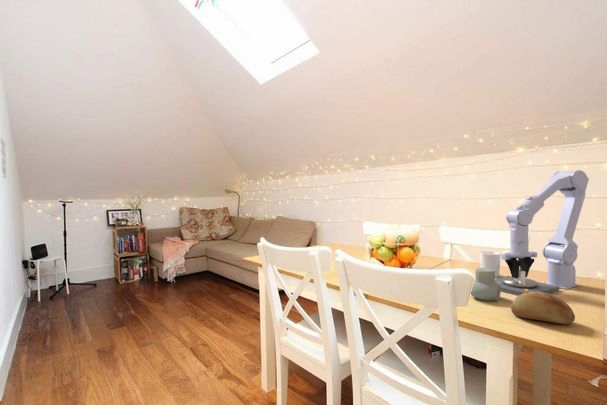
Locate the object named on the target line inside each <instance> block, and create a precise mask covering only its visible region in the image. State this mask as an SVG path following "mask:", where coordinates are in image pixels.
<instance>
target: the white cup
mask: <svg viewBox="0 0 607 405" xmlns="http://www.w3.org/2000/svg"><path fill="white" fill-rule="evenodd" d="M501 254H502V253H500V252H499V251H492V250H491V251H490V250H489V251H488V250H486V251H483V250H482V251H480V252H479V259H480V260H479V262H480V268H488V269H492V270H494V271H495V278H500V271H501V269H500V268H501Z"/></svg>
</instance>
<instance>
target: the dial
mask: <svg viewBox="0 0 607 405" xmlns="http://www.w3.org/2000/svg"><path fill="white" fill-rule="evenodd" d="M505 277H506V278H503V277H502V278H503V279H502V282H503V284H505V285H508V286H512V287H518V288H535V287H537V282H538V281H536V280H534V279H531V278H528V277H526V278H525V271H524V270H522V269H521V268H520V267H519V276H518V278H513V277H512V276H511V277H507V276H505Z"/></svg>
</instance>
